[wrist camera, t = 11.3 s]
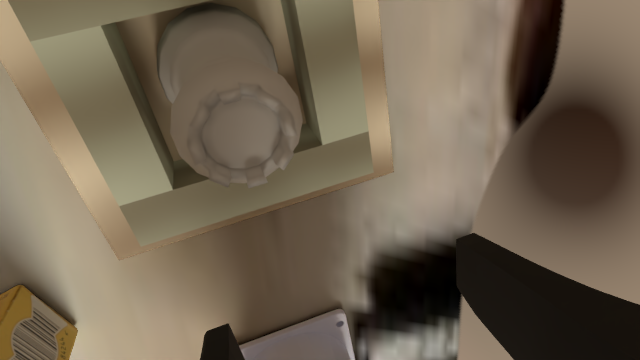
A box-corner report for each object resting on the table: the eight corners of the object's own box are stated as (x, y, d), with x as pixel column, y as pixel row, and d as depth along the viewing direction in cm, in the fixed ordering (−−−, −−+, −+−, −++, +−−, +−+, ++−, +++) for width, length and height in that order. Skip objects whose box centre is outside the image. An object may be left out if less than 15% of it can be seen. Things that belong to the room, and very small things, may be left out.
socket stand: (387, 165, 22) (417, 195, 19) (120, 249, 20) (111, 298, 17) (353, -170, 14) (394, -200, 12) (-80, -98, 12) (-156, -113, 9)
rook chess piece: (207, -27, 14) (231, -10, 8) (294, 58, 17) (371, 127, 10) (131, 67, 15) (93, 157, 8) (225, 137, 18) (253, 249, 11)
